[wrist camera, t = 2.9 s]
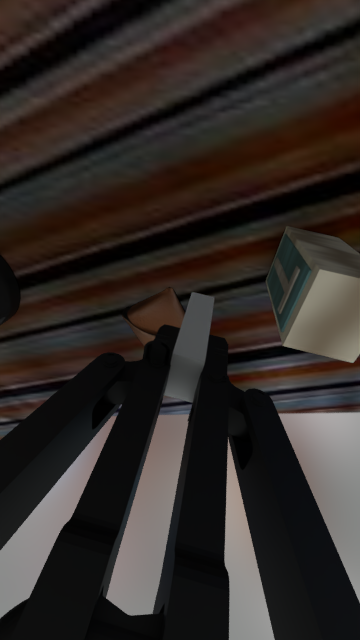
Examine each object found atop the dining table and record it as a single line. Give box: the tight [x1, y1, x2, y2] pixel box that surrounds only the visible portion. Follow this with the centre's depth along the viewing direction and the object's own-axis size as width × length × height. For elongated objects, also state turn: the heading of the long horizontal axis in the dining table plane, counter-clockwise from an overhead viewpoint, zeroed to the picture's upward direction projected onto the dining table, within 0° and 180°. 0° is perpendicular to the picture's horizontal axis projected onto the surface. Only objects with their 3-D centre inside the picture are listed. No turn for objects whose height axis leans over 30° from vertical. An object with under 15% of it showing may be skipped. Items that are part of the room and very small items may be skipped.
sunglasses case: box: [122, 287, 185, 347], centre depth 42 cm, size 18×7×7 cm
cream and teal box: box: [266, 226, 360, 363], centre depth 27 cm, size 6×7×14 cm
